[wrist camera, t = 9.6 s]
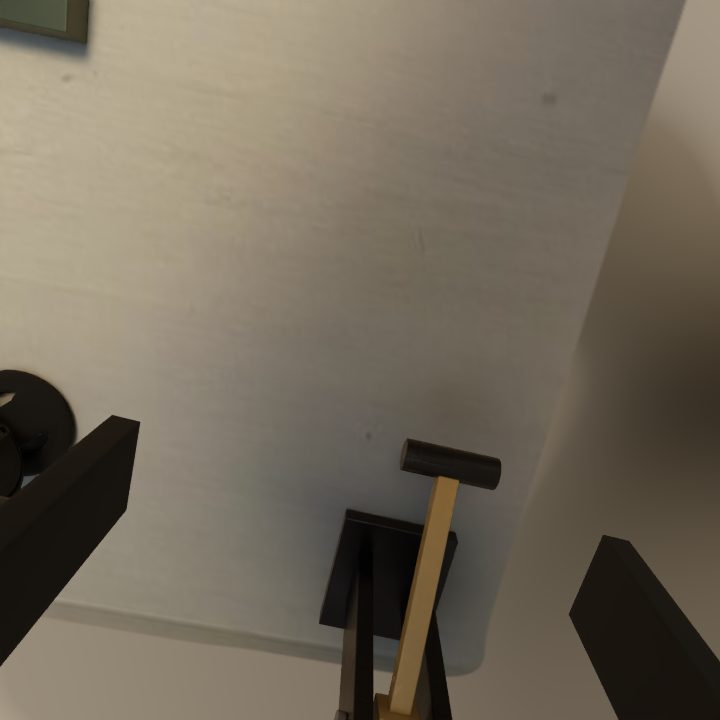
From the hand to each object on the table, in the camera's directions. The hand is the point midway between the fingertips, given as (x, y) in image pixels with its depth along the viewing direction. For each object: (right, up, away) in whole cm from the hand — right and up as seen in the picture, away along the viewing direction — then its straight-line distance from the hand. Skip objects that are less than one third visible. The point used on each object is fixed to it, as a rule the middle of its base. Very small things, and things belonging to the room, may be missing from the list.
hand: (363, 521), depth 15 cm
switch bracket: (+2, -11, +25) cm, 28 cm away
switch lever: (+3, -8, +15) cm, 17 cm away
